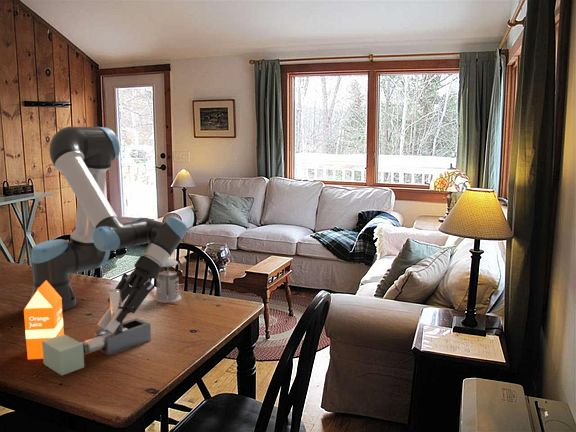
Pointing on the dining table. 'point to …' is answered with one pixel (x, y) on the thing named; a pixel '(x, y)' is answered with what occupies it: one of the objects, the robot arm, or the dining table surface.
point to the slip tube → (115, 305)
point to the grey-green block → (63, 354)
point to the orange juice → (42, 319)
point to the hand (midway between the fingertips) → (105, 328)
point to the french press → (168, 284)
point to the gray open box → (125, 336)
